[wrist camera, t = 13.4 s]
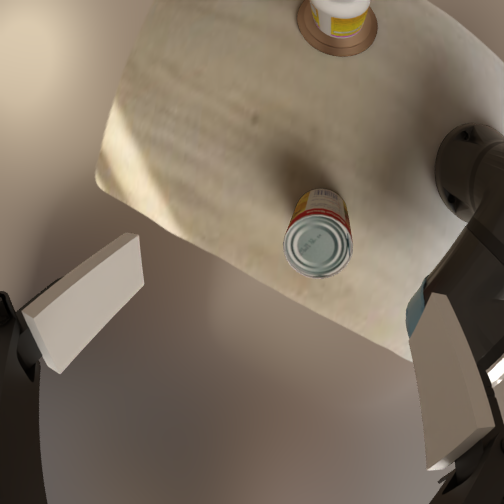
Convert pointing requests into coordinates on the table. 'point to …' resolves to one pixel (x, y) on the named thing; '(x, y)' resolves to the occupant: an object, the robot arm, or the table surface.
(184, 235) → the table surface
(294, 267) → the canned food
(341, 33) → the supplement bottle
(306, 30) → the plinth
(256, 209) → the table surface
